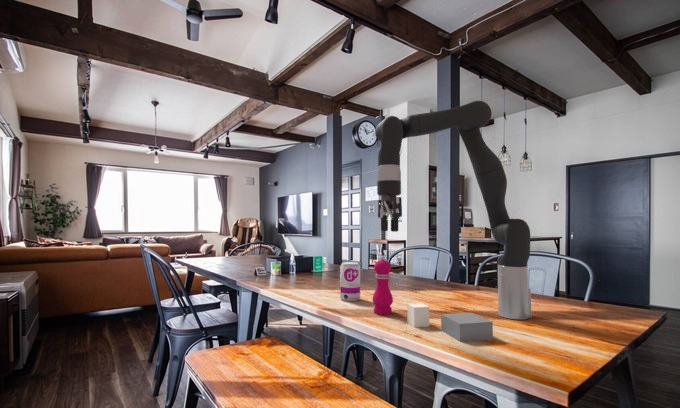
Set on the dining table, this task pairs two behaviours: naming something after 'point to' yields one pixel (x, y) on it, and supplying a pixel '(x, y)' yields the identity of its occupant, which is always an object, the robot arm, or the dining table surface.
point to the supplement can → (350, 281)
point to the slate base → (467, 327)
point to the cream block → (418, 314)
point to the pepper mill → (382, 288)
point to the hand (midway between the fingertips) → (389, 231)
